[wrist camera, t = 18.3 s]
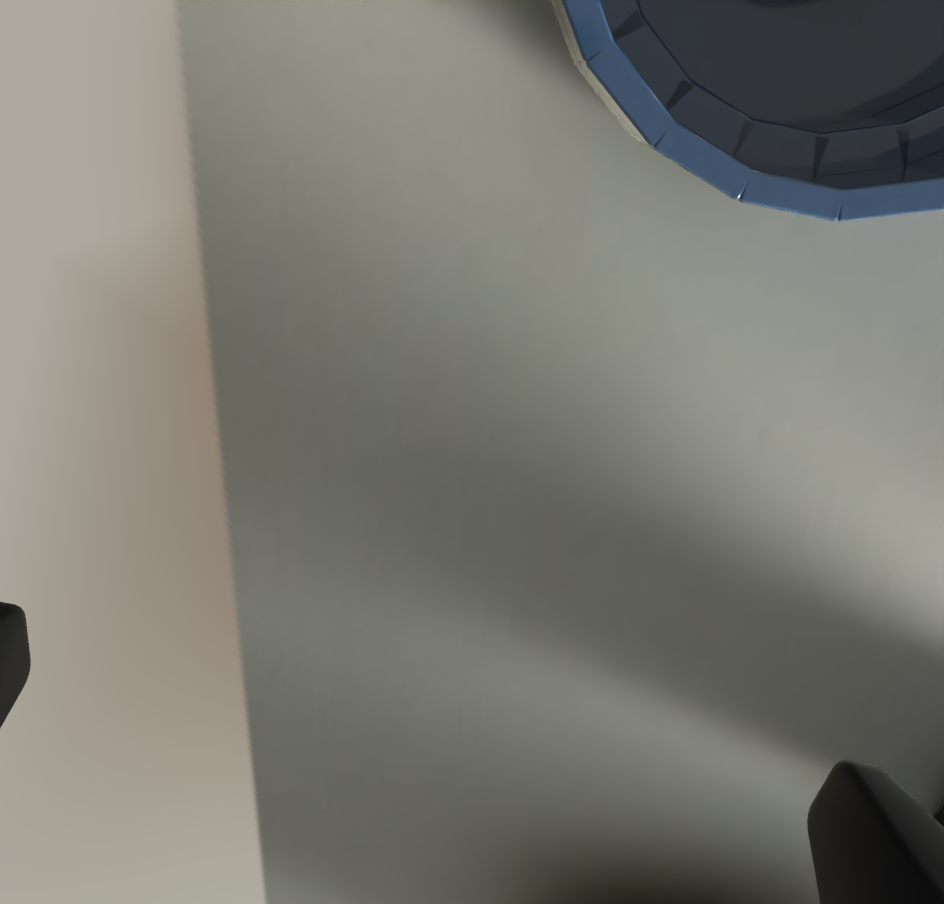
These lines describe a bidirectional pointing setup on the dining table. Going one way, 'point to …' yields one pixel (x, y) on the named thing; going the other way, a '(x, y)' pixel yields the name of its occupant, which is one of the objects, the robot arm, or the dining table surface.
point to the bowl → (778, 95)
